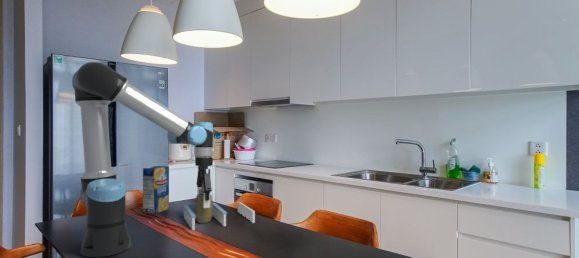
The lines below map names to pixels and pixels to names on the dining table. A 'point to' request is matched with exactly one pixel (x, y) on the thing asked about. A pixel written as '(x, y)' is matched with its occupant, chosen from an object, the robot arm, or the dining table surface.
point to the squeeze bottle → (203, 213)
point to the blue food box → (155, 189)
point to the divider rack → (216, 213)
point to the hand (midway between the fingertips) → (203, 204)
